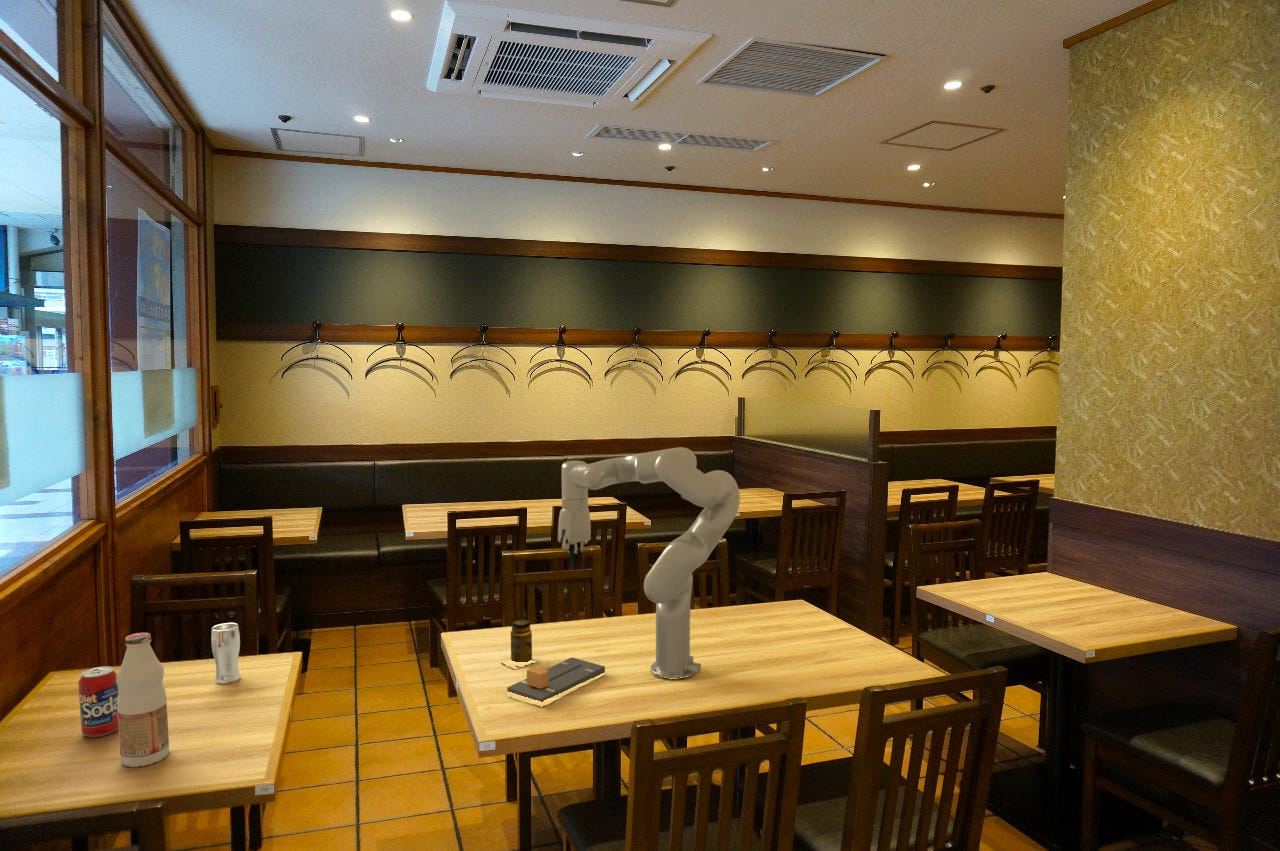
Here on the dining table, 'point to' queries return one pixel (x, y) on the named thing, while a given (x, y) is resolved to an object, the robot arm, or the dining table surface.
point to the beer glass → (226, 652)
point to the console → (559, 679)
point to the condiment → (521, 641)
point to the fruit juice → (141, 704)
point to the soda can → (98, 701)
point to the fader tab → (537, 677)
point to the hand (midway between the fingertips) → (575, 565)
